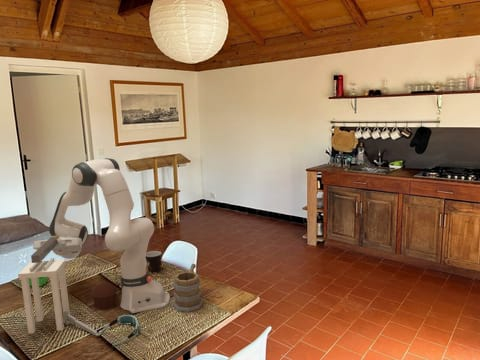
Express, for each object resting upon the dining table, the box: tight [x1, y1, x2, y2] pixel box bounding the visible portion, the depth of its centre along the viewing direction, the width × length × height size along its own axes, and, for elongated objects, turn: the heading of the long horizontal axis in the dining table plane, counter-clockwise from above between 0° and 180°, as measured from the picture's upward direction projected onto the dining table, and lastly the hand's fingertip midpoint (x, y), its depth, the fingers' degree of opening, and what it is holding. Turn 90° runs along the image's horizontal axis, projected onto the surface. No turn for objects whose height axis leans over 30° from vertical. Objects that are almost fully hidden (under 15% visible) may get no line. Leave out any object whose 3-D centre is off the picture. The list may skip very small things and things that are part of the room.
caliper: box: [62, 311, 99, 337], centre depth 154 cm, size 20×1×6 cm, turn 62°
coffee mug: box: [146, 250, 162, 273], centre depth 208 cm, size 12×9×10 cm
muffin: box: [90, 282, 118, 311], centre depth 173 cm, size 12×11×10 cm
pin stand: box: [18, 257, 71, 335], centre depth 156 cm, size 14×12×28 cm
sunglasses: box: [96, 314, 140, 348], centre depth 150 cm, size 14×15×5 cm
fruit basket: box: [29, 276, 49, 287], centre depth 196 cm, size 11×9×11 cm
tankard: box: [172, 263, 204, 313], centre depth 174 cm, size 20×13×15 cm, turn 168°
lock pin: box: [30, 235, 59, 263], centre depth 159 cm, size 3×24×3 cm, turn 8°
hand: (52, 241), depth 167 cm, fingers closed on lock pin, 3 cm apart
